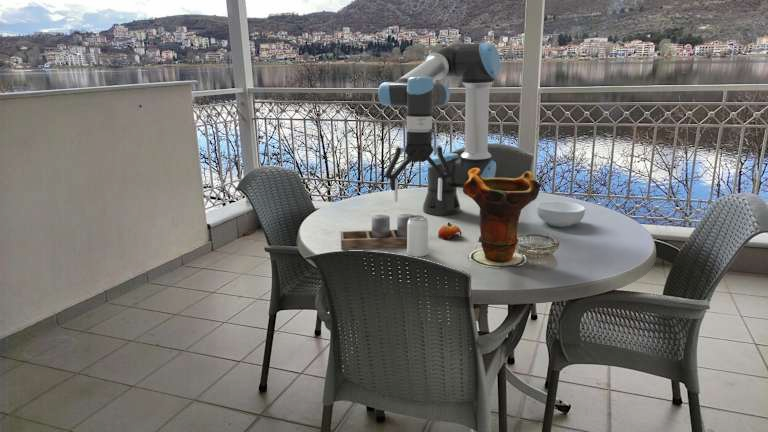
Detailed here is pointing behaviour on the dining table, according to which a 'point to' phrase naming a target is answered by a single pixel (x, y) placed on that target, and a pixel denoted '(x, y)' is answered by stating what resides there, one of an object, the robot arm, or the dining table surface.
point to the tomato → (448, 231)
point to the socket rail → (369, 241)
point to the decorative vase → (499, 215)
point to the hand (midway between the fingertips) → (417, 200)
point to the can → (417, 236)
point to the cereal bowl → (560, 213)
